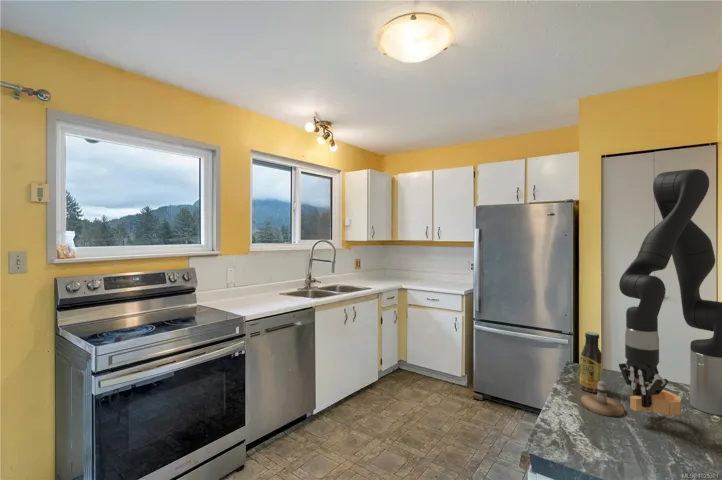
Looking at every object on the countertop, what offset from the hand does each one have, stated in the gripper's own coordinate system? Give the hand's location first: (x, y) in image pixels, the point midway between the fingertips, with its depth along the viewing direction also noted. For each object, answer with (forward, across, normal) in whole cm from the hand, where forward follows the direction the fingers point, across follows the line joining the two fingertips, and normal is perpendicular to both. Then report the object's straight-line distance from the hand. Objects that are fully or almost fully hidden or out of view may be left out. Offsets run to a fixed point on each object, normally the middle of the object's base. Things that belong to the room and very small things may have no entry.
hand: (642, 404), depth 100 cm
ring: (+1, 0, -4) cm, 4 cm away
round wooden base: (+5, +10, +4) cm, 12 cm away
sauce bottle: (+6, +21, -2) cm, 22 cm away
